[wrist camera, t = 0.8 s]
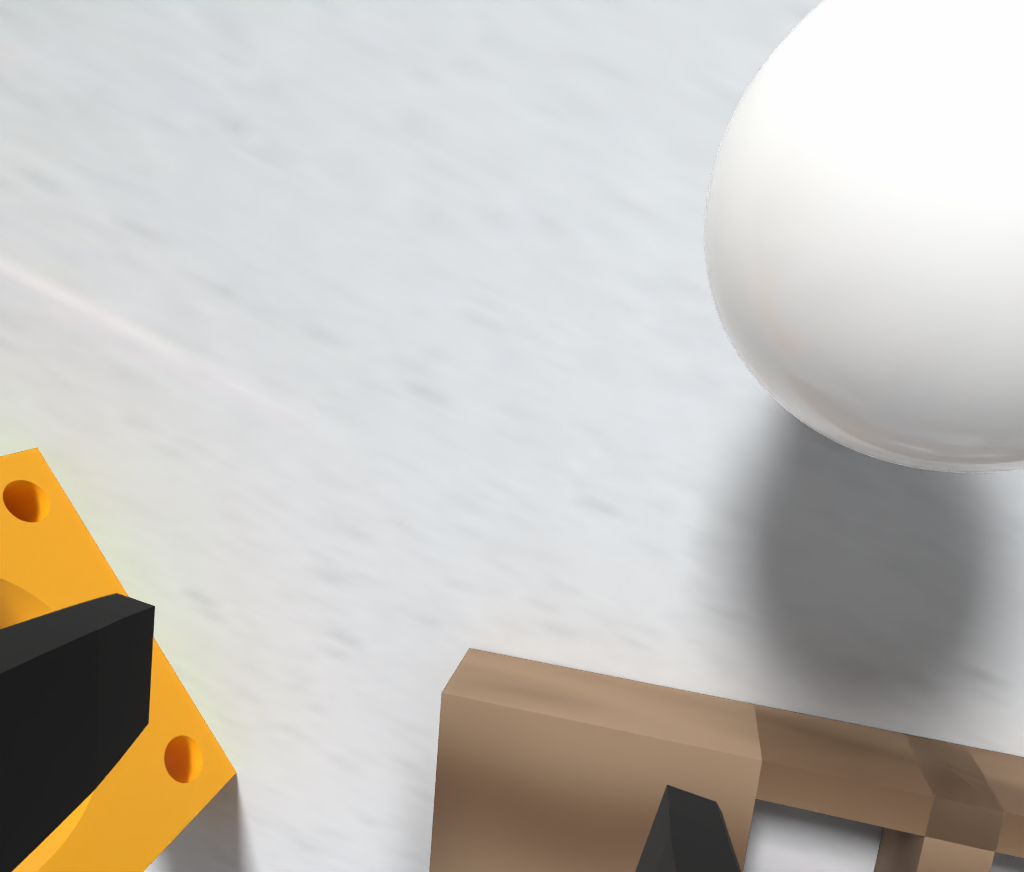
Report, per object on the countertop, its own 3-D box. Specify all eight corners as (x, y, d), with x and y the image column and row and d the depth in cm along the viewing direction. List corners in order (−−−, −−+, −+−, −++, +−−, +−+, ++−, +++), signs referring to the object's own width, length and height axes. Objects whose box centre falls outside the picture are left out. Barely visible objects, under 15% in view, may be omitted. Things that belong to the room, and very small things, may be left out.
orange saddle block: (-44, 506, 25) (-291, 580, 18) (41, 446, 23) (-194, 504, 17) (146, 811, 25) (-32, 981, 19) (239, 769, 24) (81, 937, 18)
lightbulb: (938, 38, 16) (1446, -480, 5) (1051, 315, 16) (1730, 370, 6) (655, 186, 17) (598, 34, 7) (764, 431, 18) (865, 636, 7)
